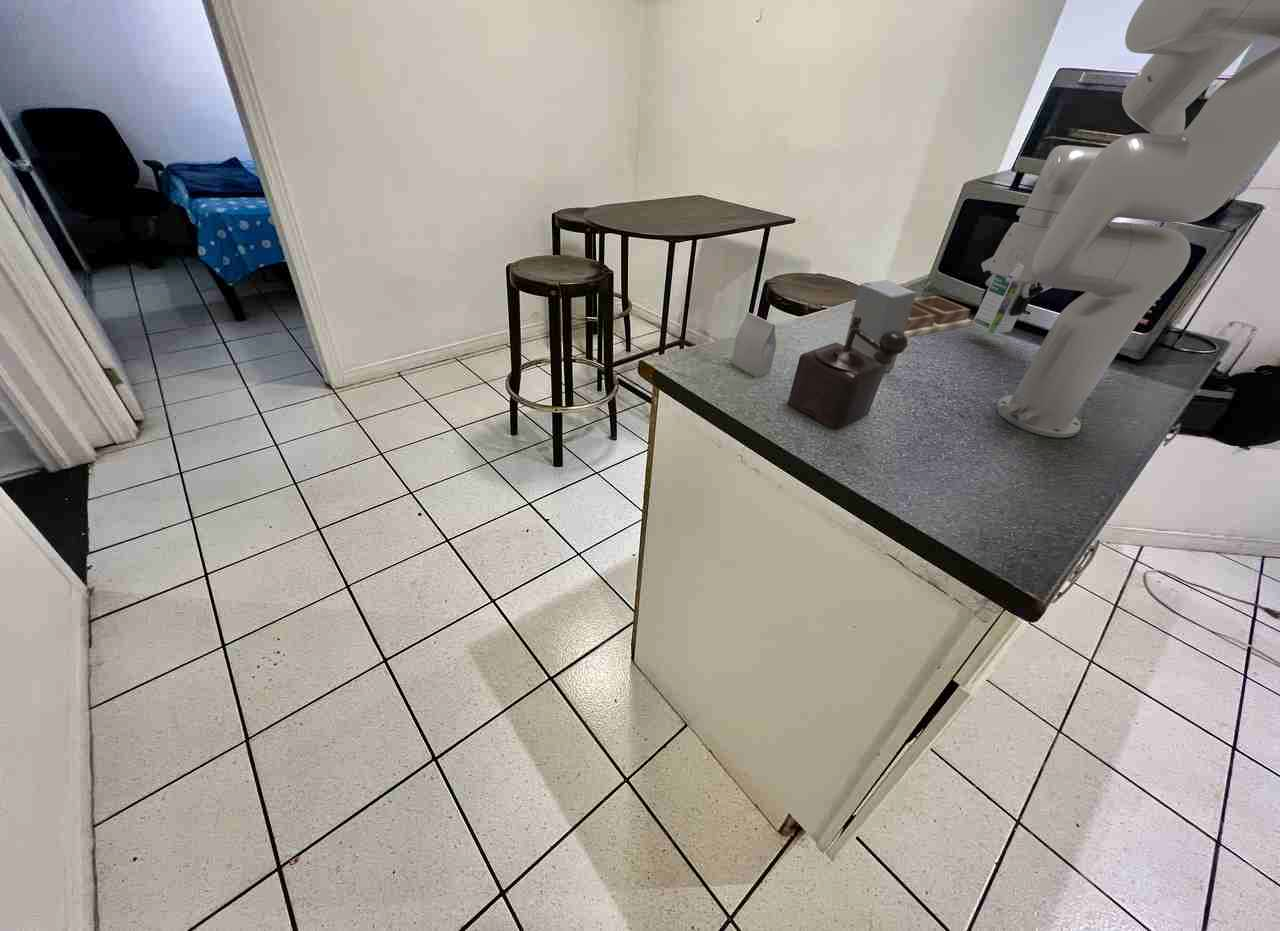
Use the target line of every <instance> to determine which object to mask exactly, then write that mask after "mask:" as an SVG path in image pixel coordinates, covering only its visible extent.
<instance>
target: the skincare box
mask: <svg viewBox="0 0 1280 931" xmlns="http://www.w3.org/2000/svg"><path fill="white" fill-rule="evenodd" d="M917 294H918V293H917V292H916V291H914V290H911V289H909V288H906V287H903V286H901V285H900V284H896V283H894V282H891V281H889V280H886V279H885V280H884V279H883V280H877V281H868V282H862V283H859V287H858V292H857V295H856V299H855V303H854V307H853V308H854V311H853V313H851V314H852V315H851V319H850V322H849V326H848V331H847V334H846V339H845V342H844V345H845V344H846V343H847V340H848V337H849V334H850V331H851V330H850V328H849V327H850V325H851V324H853V318H854V317H856V316H860V317H861V320H862V321H861V323H860V324H859V326H860V327H859V329H860V330H861V331H862V332H864V333H865V334H866V335H868V336H869V337H871V338H872V339H874V340H875V341H876V342H878V343H879V341H880V337H881V335H882V334H883V333H884V332H887V331H890V330H896V331H900V332H901V333H903V334H904V332H905V328H906V325H907V322H908V319H909V316H910V313H911V309H912V306H913V303H914V300H915V299H916V298H917ZM852 348H854V349H856V350H858V351H859V352H861V353H862V354H864V355H866V356H868V357H871V358H873V359H875V358H874V357H873V356H874V353H875V352H877V351H878V350H877V349H875V348H874V347H873V346H871V345H870V344H868V343H867V342H865V341H864V340H863V339H861V338H860V337H859V336H858V335H857V334H855V337H854V340H853V343H852ZM897 357H898V354H897V355H895V356H893V358H892V363H891V364H889V365H887V367H886V370H885V372H884V373H887V372H891V371H892V370H893V369H894V366H895V363H896V360H897Z"/></svg>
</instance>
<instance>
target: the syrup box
mask: <svg viewBox="0 0 1280 931" xmlns="http://www.w3.org/2000/svg"><path fill="white" fill-rule="evenodd" d="M1018 264H1019V265H1018ZM1016 265H1018V266H1016V267H1013V268H1015V269H1014V271H1013V272H1012V273H1011V274H1010V275H1009V276H1008V277H1005V276H999V275H996V274H995V275H994V277H993V279H992V282H991V284H990V286H989V288H988V291H987V293H986V295H985V297H984V299H983V301H982V300H981V301H982V304H980V306H979V308H978V311H977V312H976V314H975V317H974V319H973V322H972V324H971V325H973V326H976V327H978V328H979V329H982V330H983V331H986V332H988V333H991V334H1000V333H1001V334H1002V333H1010V332H1012V330H1013V328H1014V326H1015V323H1016V322H1017V320H1018V317H1019V316H1020V315H1016V316H1011V315H1010V312H1011V310H1012V308H1013V306H1014V304H1015V302H1016V300H1017V298H1018V297H1019V296H1022V291H1023V283H1021V282H1019V279H1020V277H1021V275H1022V273H1023V271H1024V269H1025V266H1026V265H1024V264H1020V263H1017V264H1016Z"/></svg>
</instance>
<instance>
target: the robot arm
mask: <svg viewBox="0 0 1280 931" xmlns="http://www.w3.org/2000/svg"><path fill="white" fill-rule="evenodd" d="M1124 39H1125V40H1124V41H1125V43H1124V45H1125V47H1126V49H1127V50H1128V51H1129V52H1131V53H1133V54H1134V53H1135V54H1144V55H1145V54H1146V55H1152V56H1151V57H1150V58H1149V59H1148V60H1147V61H1146V63H1145V64H1144V65H1143V67H1141V68H1140V70H1139V71H1138V72H1136V74H1135V75H1134V77H1133V78H1132V79H1131V80H1130V81H1129V82H1128V84H1127V85H1126V87H1125V88H1124V90H1123V92H1122V97H1121V105H1122V108H1123V110H1124V112H1125V113H1126V115H1127V116H1128V117H1129V118H1130V119H1131V120H1132V121H1133V122H1135V123H1136V124H1137V125H1139V126H1140V127H1142V128H1143V129H1144V130H1146V131H1147V132H1149V133H1147V132H1143V133H1142V132H1141V133H1133V134H1131V133H1130V134H1126V135H1124V136H1122V137H1119V138H1118V139H1116V140H1114V141H1112V142H1111V143H1110V144H1108V145H1107V146H1106V147H1091V146H1079V145H1070V144H1067V145H1066V144H1065V145H1064V144H1062V145H1057V146H1055V147H1054V148H1053V149H1051V151H1050V152H1049V154H1048V156H1047V158H1046V160H1045V163H1044V165H1043V167H1042V169H1041V172H1040V173H1039V176H1038V178H1037V181H1036V182H1035V185H1034V188H1033V189H1032V192H1031V194H1030V196H1029V199H1028V200H1027V203H1026V205H1025V206H1024V207H1019V208H1018V209H1017V211H1016V215H1017V216H1019V219H1018V222H1017V221H1016V222H1013V223H1012V224H1011V226H1010V227H1009V229H1008V230H1007V231H1006V233H1005V234H1004V237H1003V238H1002V240H1001V241H1000V242H999V245H998V247H997V249H996V250H995V252H994V254H993V256H991V257H989V258H988V259H986V260H984V261H982V262H981V268H982V271H983V276H984V279H985V285H986V286H985V289H984V290H983V291H984V292H983V294H982V295H981V301H980V305H981V304H982V301H983V299H984V297H985V295H986V293H987V291H988V288H989V286H990V284H991V282H992V279H993V277H994V275H995V274H996V275H999V276H1005V277H1008V276H1009V275H1010V274H1011V273H1012V272H1013V271H1014V269H1015V268H1013V267H1016V266H1018V265H1019V264H1018V265H1016V264H1017V263H1020V264H1024V265H1026V266H1025V269H1024V271H1023V273H1022V275H1021V277H1020V279H1019V282H1021V283H1023V291H1022V296H1019V297H1018V298H1017V300H1016V302H1015V304H1014V306H1013V308H1012V310H1011V312H1010V315H1011V316H1016V315H1019V316H1021V315H1022V314H1023V313H1024V312H1026V309H1027V307H1028V306H1029V304H1030V301H1031V299H1032V298H1033V297H1036V296H1037V295H1039V294H1041V293H1043V292H1045V291H1048V290H1049V289H1052V288H1054V289H1061V290H1062V289H1063V290H1070V291H1080V292H1084V293H1082V294H1081V295H1080V296H1078V297H1077V298H1075V299H1074V300H1073V301H1071V302H1070V303H1068V305H1067V306H1066V307H1065V308H1063V310H1061V312H1060V313H1059V314H1058V316H1057V317H1056V318H1055V320H1054V322H1053V324H1052V325H1051V327H1050V329H1049V331H1048V333H1047V334H1046V336H1045V338H1044V339H1043V342H1042V343H1041V345H1040V347H1039V348H1038V350H1037V353H1036V354H1035V356H1034V358H1033V359H1032V361H1031V363H1030V364H1029V366H1028V368H1027V369H1026V372H1025V374H1024V375H1023V377H1022V379H1021V380H1020V382H1019V383H1018V386H1017V388H1016V390H1015V391H1014V393H1013V394H1011V395H1009V394H1008V395H1005V396H1002V397H1001V398H999V400H998V402H997V404H996V411H997V413H998V414H999V416H1001V417H1002V418H1003V419H1004V420H1006V421H1007V422H1009V423H1011V424H1012V425H1013V426H1016V427H1018V428H1020V429H1022V430H1024V431H1027V432H1031V433H1032V434H1035V435H1038V436H1039V435H1040V436H1043V437H1049V438H1050V437H1051V438H1058V439H1061V438H1064V439H1065V438H1070V437H1074V436H1075V435H1077V434H1078V433H1079V431H1080V430H1081V428H1082V424H1081V421H1080V420H1079V419H1078V418H1077V414H1078V413H1079V412H1080V410H1081V408H1082V407H1083V406H1084V404H1085V403H1086V401H1087V399H1088V398H1089V396H1090V395H1091V394H1092V392H1093V390H1094V389H1095V387H1096V386H1097V384H1098V383H1099V381H1100V380H1101V379H1102V378H1103V376H1104V374H1105V373H1106V371H1107V369H1108V368H1109V366H1110V365H1111V363H1112V362H1113V361H1114V359H1115V358H1116V356H1117V355H1118V352H1119V351H1120V350H1121V348H1122V347H1123V345H1124V344H1125V343H1126V341H1127V339H1128V338H1129V337H1130V335H1131V334H1132V332H1133V331H1134V329H1135V328H1136V326H1137V325H1138V323H1139V322H1140V321H1141V320H1142V318H1144V316H1145V314H1146V313H1147V312H1148V311H1149V310H1150V308H1152V306H1153V305H1154V304H1155V303H1156V302H1157V301H1158V300H1159V298H1160V297H1162V295H1163V294H1164V293H1166V292H1167V290H1169V288H1170V287H1171V286H1172V285H1173V283H1175V282H1176V281H1177V279H1178V278H1179V277H1180V275H1181V274H1182V273H1183V272H1184V270H1185V269H1186V267H1187V265H1188V264H1189V261H1190V257H1191V245H1190V242H1189V240H1188V239H1187V238H1186V236H1185V235H1183V234H1182V233H1181V232H1179V231H1177V230H1175V229H1171V228H1170V227H1169V228H1168V227H1165V226H1161V225H1160V226H1159V225H1152V224H1144V223H1135V222H1134V223H1133V222H1125V221H1124V222H1118V221H1117V222H1116V221H1113V220H1115V219H1118V218H1122V219H1123V218H1124V219H1133V220H1142V221H1143V220H1144V221H1153V222H1161V223H1162V222H1163V223H1177V224H1178V223H1179V224H1180V223H1181V224H1182V223H1184V224H1185V223H1193V222H1198V221H1200V220H1204V219H1206V218H1208V217H1210V216H1211V215H1212V214H1214V213H1215V212H1216V211H1217V210H1219V209H1220V207H1223V205H1224V204H1225V203H1226V202H1227V201H1228V200H1229V199H1230V198H1231V196H1233V194H1234V193H1235V192H1236V191H1237V189H1238V188H1240V186H1241V185H1242V183H1244V181H1246V179H1247V178H1248V177H1249V175H1250V174H1251V173H1252V172H1253V171H1254V169H1255V168H1256V167H1257V166H1258V165H1259V164H1260V163H1261V162H1262V160H1264V158H1265V157H1266V156H1267V155H1268V153H1269V152H1270V151H1272V149H1273V148H1274V147H1275V145H1276V144H1277V143H1278V142H1279V140H1280V45H1279V46H1278V47H1276V48H1274V49H1273V50H1271V51H1269V52H1268V53H1266V54H1264V55H1262V56H1260V57H1259V58H1258V59H1255V60H1254V61H1252V62H1251V63H1249V64H1247V65H1246V66H1245V67H1244V68H1242V69H1240V71H1238V72H1236V73H1235V74H1234V75H1233V76H1231V77H1229V79H1227V80H1225V82H1223V83H1222V84H1221V85H1220V86H1219V87H1218V88H1217V89H1216V90H1215V91H1214V92H1213V93H1212V94H1211V95H1210V96H1209V98H1207V101H1206V102H1205V103H1204V105H1203V106H1202V108H1201V109H1200V110H1199V112H1198V113H1197V115H1196V116H1195V117H1194V118H1193V120H1192V121H1191V123H1189V125H1188V126H1186V120H1187V119H1186V109H1187V107H1189V106H1190V105H1191V104H1192V103H1193V102H1194V101H1195V100H1196V99H1197V98H1199V97H1200V96H1201V95H1202V93H1204V91H1205V90H1207V89H1208V88H1209V86H1211V84H1213V83H1214V82H1215V81H1216V80H1217V79H1218V78H1219V77H1220V76H1221V75H1222V74H1223V73H1224V72H1225V71H1226V70H1227V69H1228V68H1229V67H1230V66H1231V65H1232V64H1233V63H1234V62H1235V61H1236V60H1237V59H1238V58H1240V56H1241V55H1243V53H1244V52H1245V51H1246V50H1247V49H1248V48H1250V46H1251V45H1253V43H1254V42H1255V41H1264V42H1265V41H1267V42H1268V41H1271V42H1279V43H1280V0H1142V1H1141V2H1140V4H1139V5H1138V7H1137V8H1136V10H1135V12H1134V14H1132V16H1131V19H1130V21H1129V23H1128V26H1127V29H1126V32H1125V36H1124ZM1185 127H1186V128H1185ZM1038 284H1040V285H1038Z"/></svg>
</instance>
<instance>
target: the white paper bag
mask: <svg viewBox="0 0 1280 931" xmlns="http://www.w3.org/2000/svg"><path fill="white" fill-rule="evenodd" d="M776 346H777V340H776V324H775V323H772V322H770V321H769V320H766V319H764V318H762V317H760V316H758V315H756V314H753V313H751V312H749V311H748V312H746V314H745V317H744V320H743V322H742V323H741V325H740V327H739V329H738V331H737V333H736V337H735V342H734V348H733V351H732V353H733V354H732V359H731V364H732V365H734V366H736V367H737V368H738V369H740V370H743V371H744V372H745V373H747V374H749V375H751V376H753V377H754V378H760V377H763V376H766V375H768V374H770V373H771V369H772V363H773V361H774V356H775V353H776V348H777V347H776Z"/></svg>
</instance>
